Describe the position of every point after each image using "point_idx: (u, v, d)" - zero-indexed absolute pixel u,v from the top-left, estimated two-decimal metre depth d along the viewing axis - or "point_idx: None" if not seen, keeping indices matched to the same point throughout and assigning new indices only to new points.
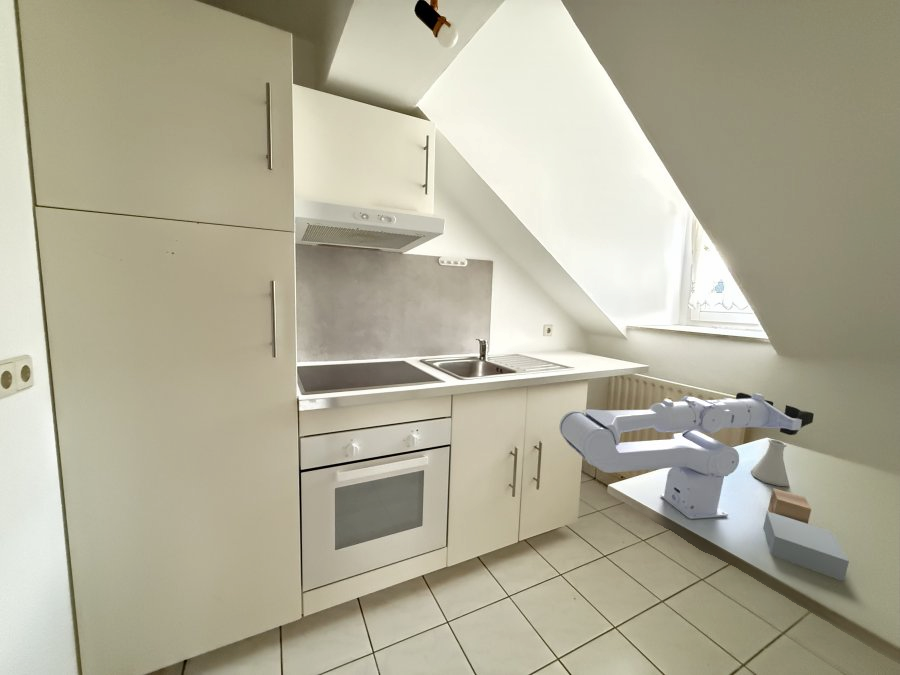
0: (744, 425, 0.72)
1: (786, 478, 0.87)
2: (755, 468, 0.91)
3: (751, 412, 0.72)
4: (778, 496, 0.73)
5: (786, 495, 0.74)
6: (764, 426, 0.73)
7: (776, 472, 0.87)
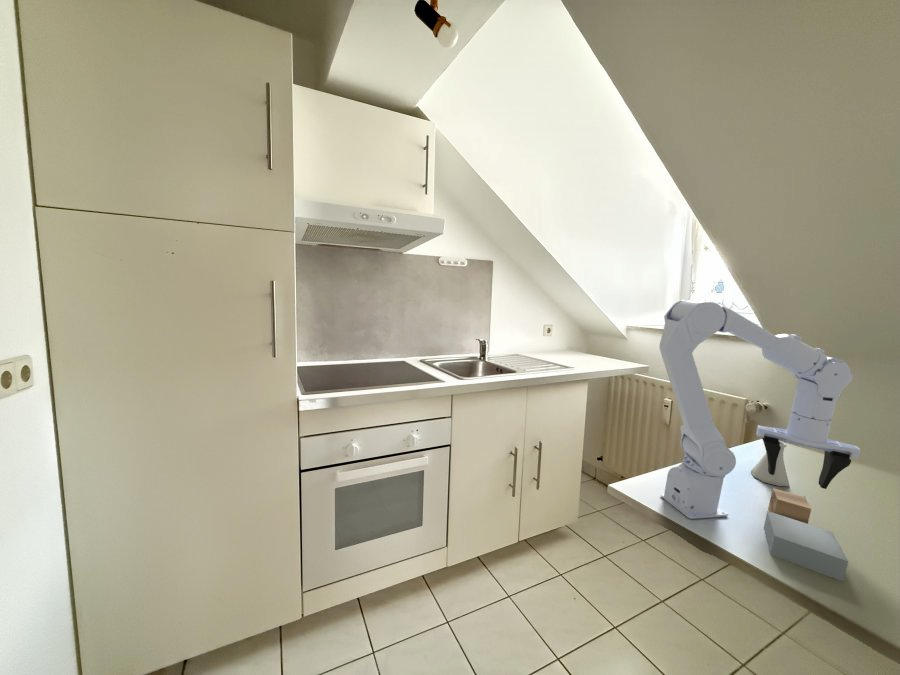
0: (810, 416, 0.68)
1: (786, 478, 0.87)
2: (755, 468, 0.91)
3: None
4: (778, 496, 0.73)
5: (786, 495, 0.74)
6: (825, 443, 0.68)
7: (776, 472, 0.87)
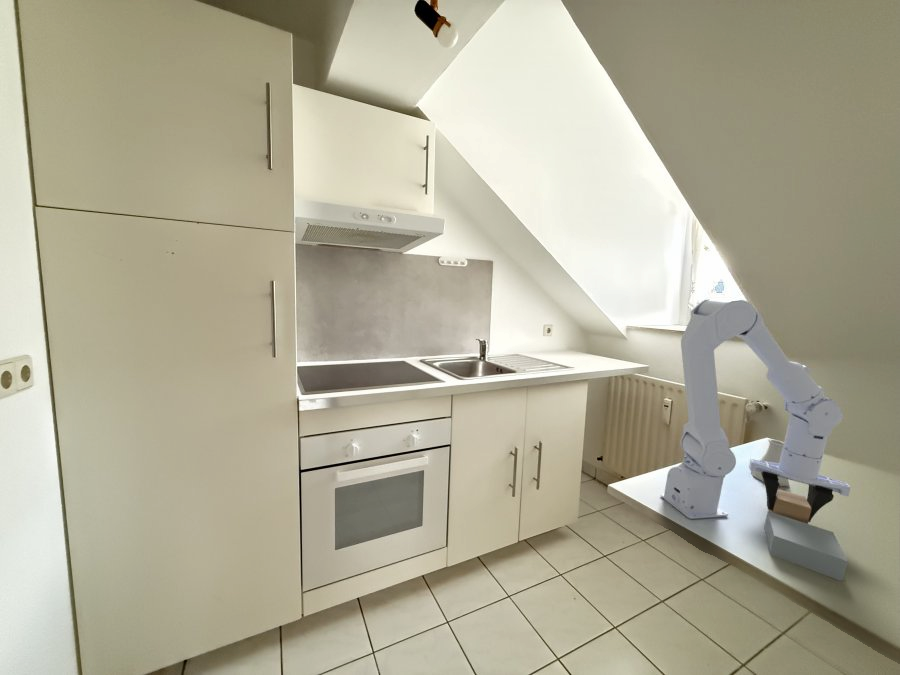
0: (801, 453, 0.69)
1: None
2: None
3: None
4: (778, 495, 0.73)
5: (786, 494, 0.74)
6: (816, 480, 0.69)
7: None
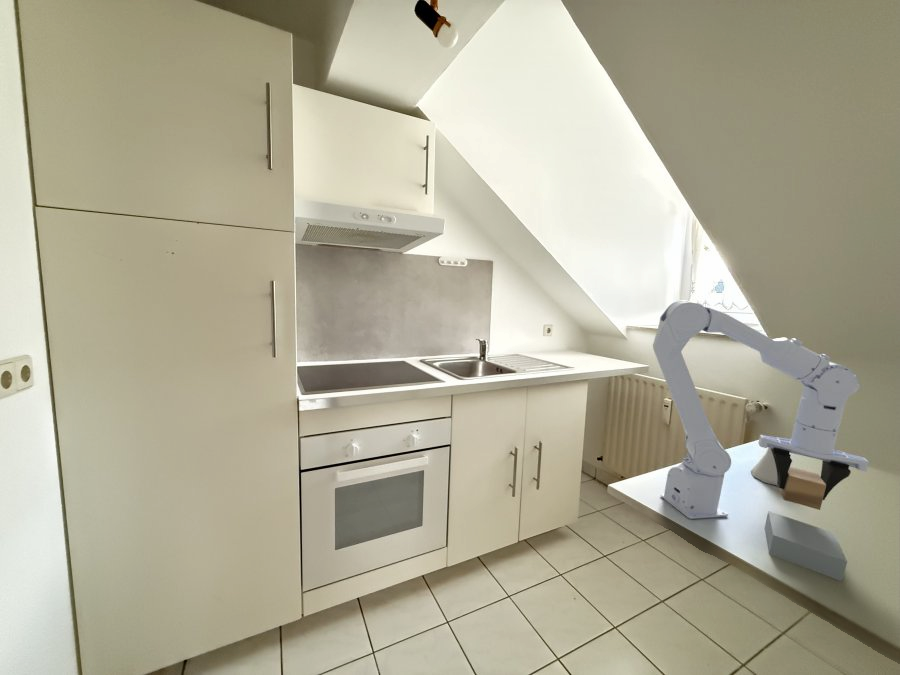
0: (810, 425, 0.65)
1: None
2: (755, 468, 0.91)
3: None
4: (790, 473, 0.69)
5: (798, 472, 0.69)
6: (831, 455, 0.64)
7: (776, 472, 0.87)
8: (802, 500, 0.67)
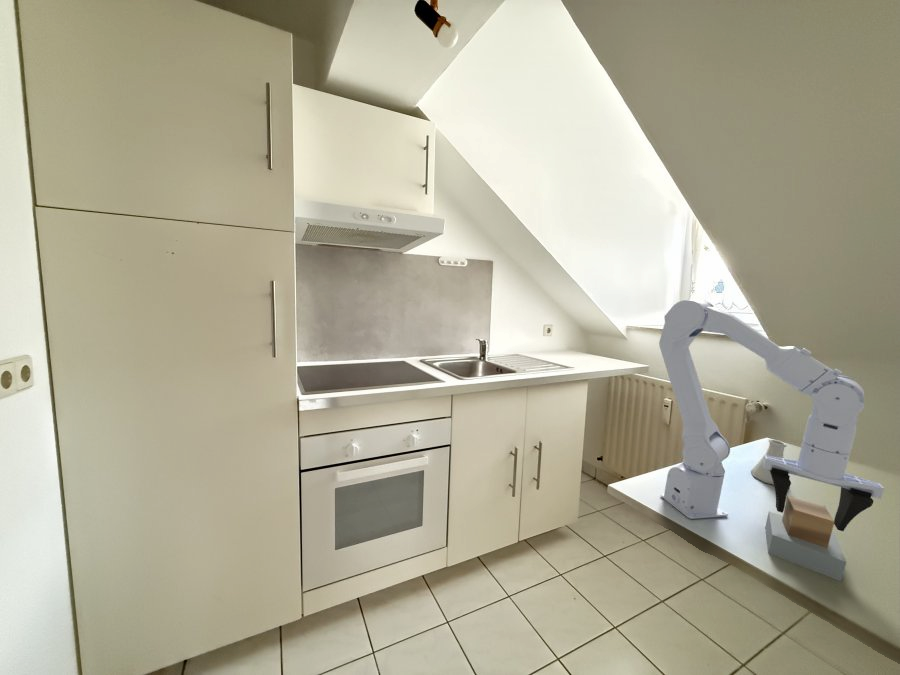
0: (810, 443, 0.61)
1: None
2: (755, 468, 0.91)
3: None
4: (794, 506, 0.64)
5: (803, 504, 0.64)
6: (842, 480, 0.59)
7: None
8: (808, 536, 0.62)
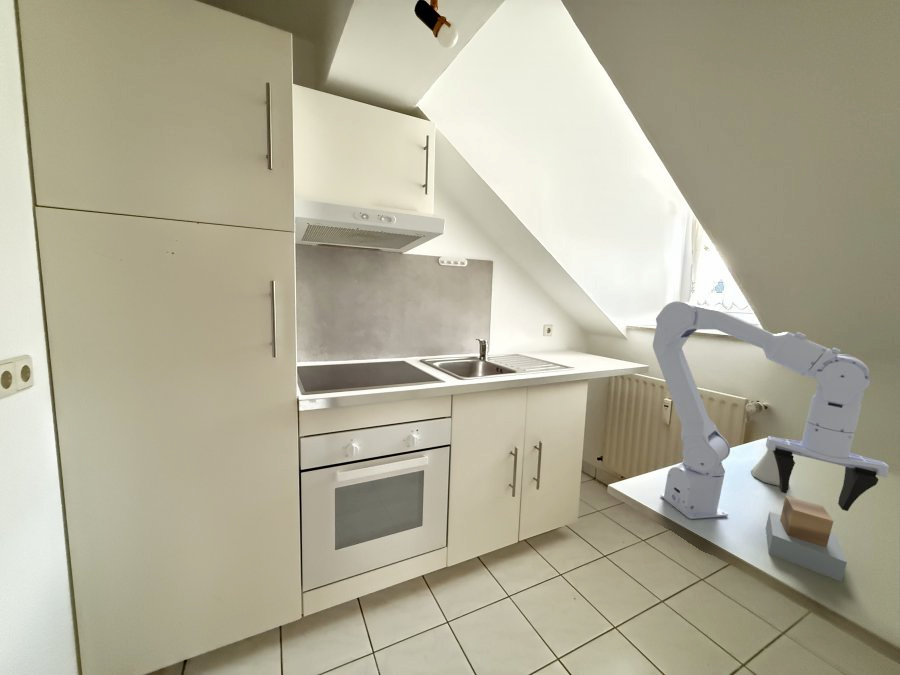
0: (815, 423, 0.60)
1: None
2: (755, 468, 0.92)
3: None
4: (793, 506, 0.63)
5: (801, 504, 0.64)
6: (847, 459, 0.58)
7: (776, 472, 0.87)
8: (807, 536, 0.62)
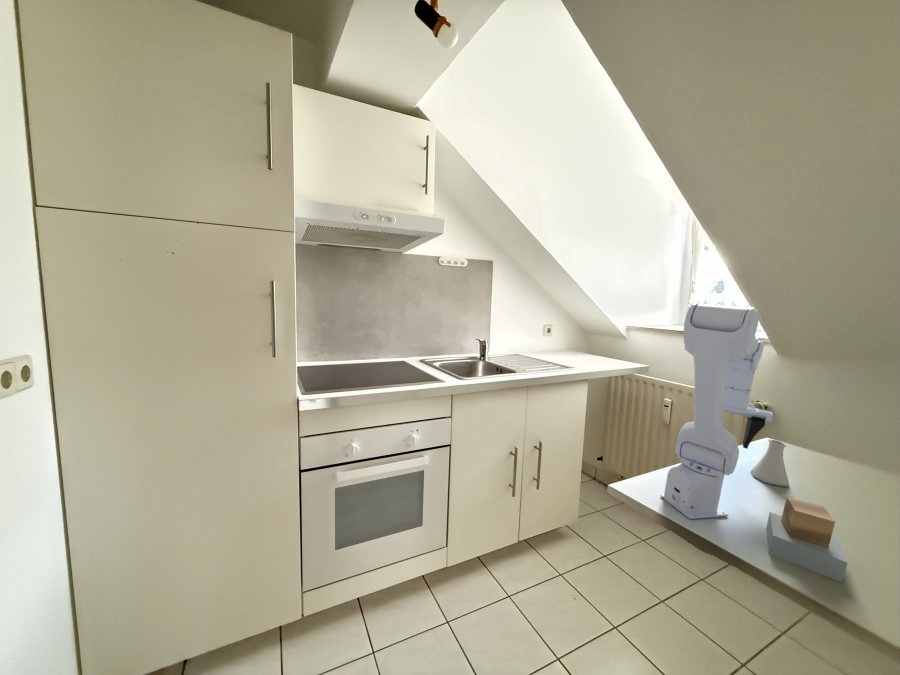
0: (746, 389, 0.80)
1: (786, 478, 0.87)
2: (755, 468, 0.92)
3: None
4: (795, 507, 0.63)
5: (803, 505, 0.64)
6: (745, 409, 0.81)
7: (776, 472, 0.87)
8: (809, 537, 0.62)
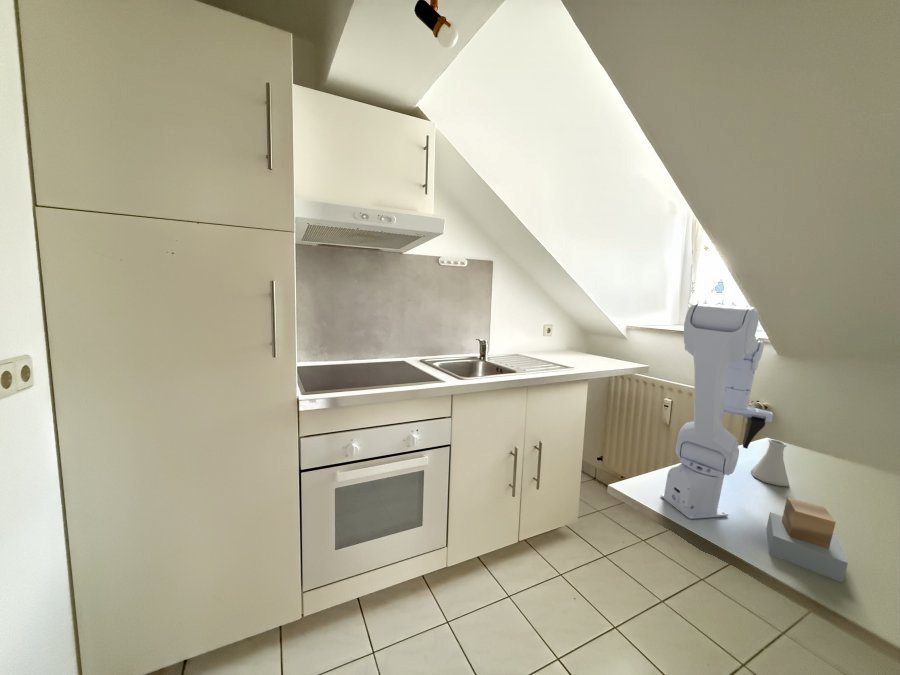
0: (746, 389, 0.80)
1: (786, 478, 0.87)
2: (755, 468, 0.92)
3: None
4: (795, 507, 0.63)
5: (803, 505, 0.64)
6: (745, 409, 0.81)
7: (776, 472, 0.87)
8: (810, 537, 0.61)
